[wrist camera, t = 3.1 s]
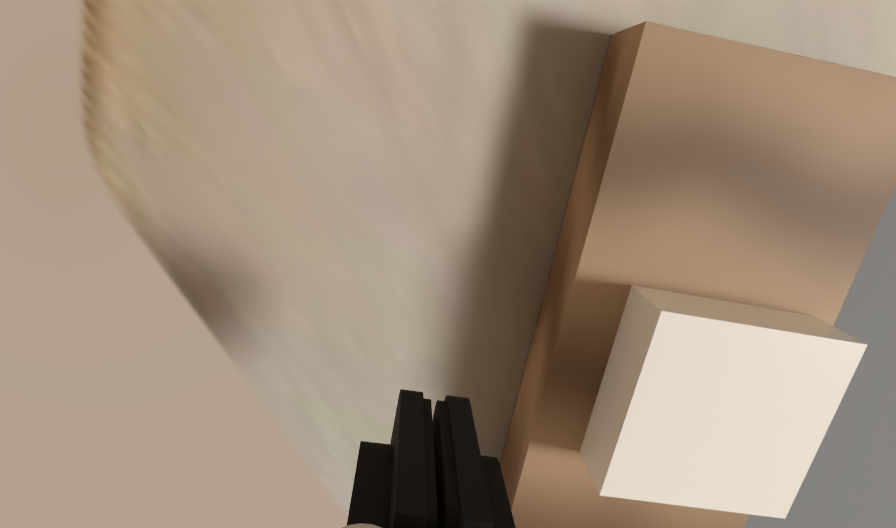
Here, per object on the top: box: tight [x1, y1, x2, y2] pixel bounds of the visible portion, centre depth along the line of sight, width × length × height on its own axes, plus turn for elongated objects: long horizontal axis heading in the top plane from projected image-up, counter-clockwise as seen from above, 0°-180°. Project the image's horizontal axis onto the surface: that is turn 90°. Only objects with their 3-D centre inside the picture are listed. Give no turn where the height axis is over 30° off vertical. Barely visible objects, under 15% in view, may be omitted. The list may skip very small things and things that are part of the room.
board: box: [500, 22, 896, 528], centre depth 17 cm, size 19×8×2 cm, turn 169°
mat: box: [743, 186, 896, 528], centre depth 19 cm, size 19×9×1 cm, turn 169°
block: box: [580, 285, 867, 519], centre depth 15 cm, size 6×6×2 cm
